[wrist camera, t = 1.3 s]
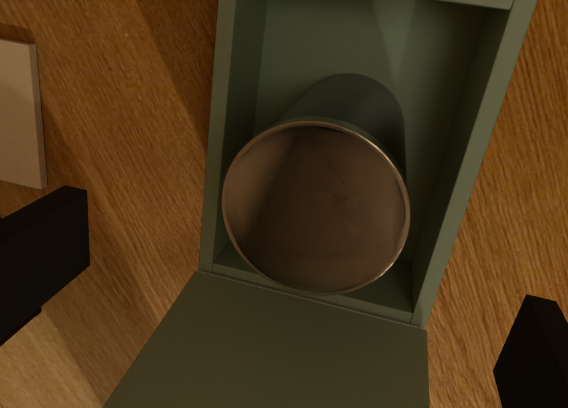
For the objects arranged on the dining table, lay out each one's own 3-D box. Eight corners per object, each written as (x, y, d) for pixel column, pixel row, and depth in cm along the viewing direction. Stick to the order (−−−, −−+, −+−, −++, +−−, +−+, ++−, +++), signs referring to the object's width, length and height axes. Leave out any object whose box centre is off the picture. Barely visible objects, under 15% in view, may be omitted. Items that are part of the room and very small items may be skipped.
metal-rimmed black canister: (300, 61, 28) (229, 103, 17) (420, 83, 27) (434, 143, 15) (283, 171, 31) (214, 272, 20) (390, 194, 30) (384, 315, 19)
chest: (262, -43, 27) (221, -57, 21) (506, -7, 25) (541, -10, 19) (233, 224, 35) (197, 272, 29) (420, 268, 33) (424, 330, 27)
